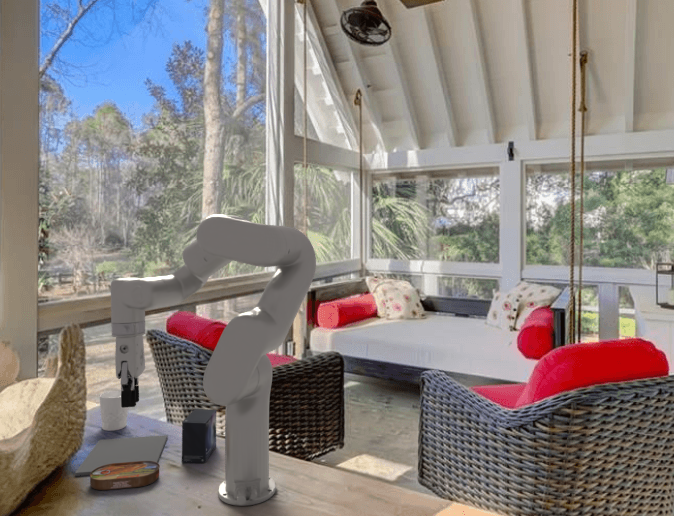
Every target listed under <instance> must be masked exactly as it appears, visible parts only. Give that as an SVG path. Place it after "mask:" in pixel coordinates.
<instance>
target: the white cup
mask: <svg viewBox="0 0 674 516" xmlns="http://www.w3.org/2000/svg"><path fill="white" fill-rule="evenodd" d="M99 405H100V409H99V411H100V419H101V428H102V430H103V431H105V432H107V431H109V432H113V431H118V430H122V429H124V428H126V427H127V424H128V420H127V418H128V414H129V413H128V412H129V411H128V410H129V407H125V408H122V407H121V389H119V390H118V389H117V390H108V391H105V392H102V393H100V395H99Z"/></svg>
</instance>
